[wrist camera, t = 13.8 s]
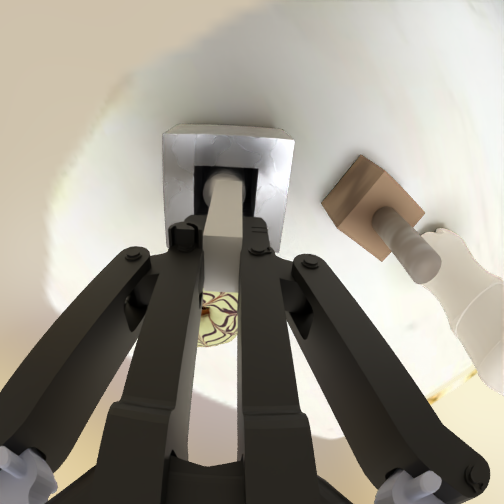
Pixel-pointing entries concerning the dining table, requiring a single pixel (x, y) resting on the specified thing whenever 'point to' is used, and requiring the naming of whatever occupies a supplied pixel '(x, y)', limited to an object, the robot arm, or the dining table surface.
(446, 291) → the water bottle
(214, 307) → the decorated donut
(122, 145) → the dining table surface
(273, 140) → the square steel tube
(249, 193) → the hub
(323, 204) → the stand
